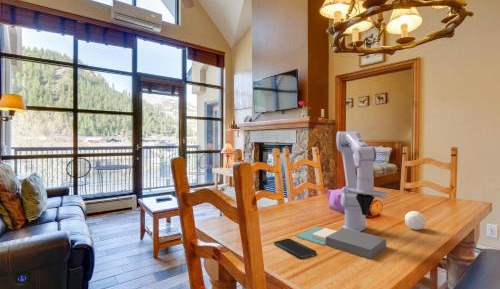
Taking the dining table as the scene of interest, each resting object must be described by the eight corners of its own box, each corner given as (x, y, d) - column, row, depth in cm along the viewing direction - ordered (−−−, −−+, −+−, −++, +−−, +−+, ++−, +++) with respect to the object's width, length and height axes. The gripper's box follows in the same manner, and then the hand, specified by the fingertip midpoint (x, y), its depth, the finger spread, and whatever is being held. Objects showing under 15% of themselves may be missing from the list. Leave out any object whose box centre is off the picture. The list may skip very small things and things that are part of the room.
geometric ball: (409, 235, 112) (397, 218, 116) (422, 226, 115) (409, 210, 118) (421, 231, 106) (407, 214, 109) (434, 222, 108) (420, 205, 111)
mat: (316, 227, 115) (316, 226, 115) (343, 234, 106) (343, 233, 106) (295, 236, 104) (295, 235, 104) (323, 245, 95) (323, 244, 95)
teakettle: (325, 205, 154) (325, 185, 153) (354, 205, 153) (354, 185, 153) (334, 213, 137) (334, 190, 136) (366, 213, 136) (366, 190, 136)
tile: (325, 231, 109) (325, 227, 109) (341, 235, 104) (341, 232, 104) (311, 237, 102) (311, 233, 102) (328, 242, 97) (328, 238, 97)
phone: (300, 257, 84) (272, 242, 96) (300, 260, 84) (272, 245, 96) (318, 251, 88) (289, 237, 100) (318, 255, 88) (289, 240, 100)
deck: (343, 235, 105) (343, 227, 105) (386, 246, 93) (386, 238, 93) (325, 244, 95) (325, 236, 95) (370, 259, 84) (370, 249, 84)
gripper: (341, 177, 100) (341, 212, 100) (381, 181, 90) (381, 221, 90) (350, 176, 105) (350, 209, 105) (388, 179, 94) (388, 216, 95)
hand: (365, 214), depth 98 cm, fingers closed
